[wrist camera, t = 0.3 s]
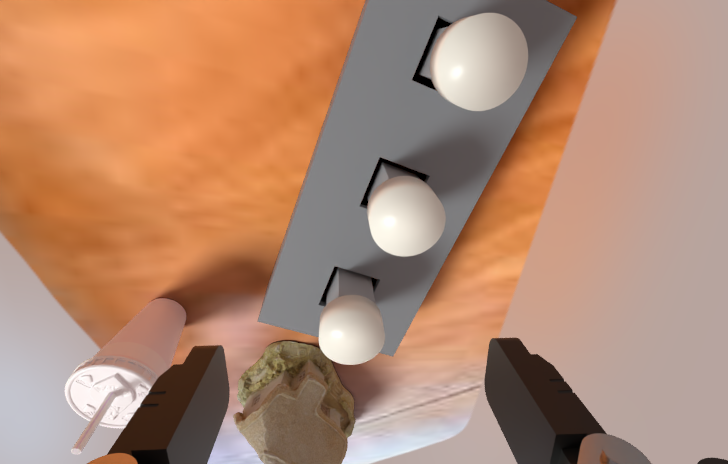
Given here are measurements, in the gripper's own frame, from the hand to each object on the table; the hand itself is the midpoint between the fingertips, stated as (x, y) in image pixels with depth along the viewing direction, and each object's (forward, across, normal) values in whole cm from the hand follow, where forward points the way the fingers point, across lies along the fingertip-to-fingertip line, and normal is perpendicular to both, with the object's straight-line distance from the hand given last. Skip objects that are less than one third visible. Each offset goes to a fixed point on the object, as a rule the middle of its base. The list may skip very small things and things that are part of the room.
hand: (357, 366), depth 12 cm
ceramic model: (+24, +5, +22) cm, 34 cm away
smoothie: (+23, +17, +12) cm, 31 cm away
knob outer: (+19, 0, +7) cm, 20 cm away
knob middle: (+18, -3, -2) cm, 18 cm away
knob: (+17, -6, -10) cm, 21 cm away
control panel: (+22, -3, -2) cm, 22 cm away
